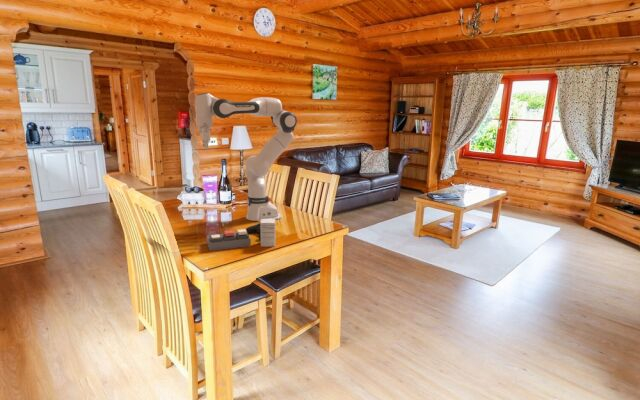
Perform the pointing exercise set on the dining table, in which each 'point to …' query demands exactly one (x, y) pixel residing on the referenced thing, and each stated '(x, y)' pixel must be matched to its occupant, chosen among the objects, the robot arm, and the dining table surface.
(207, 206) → the dining table surface
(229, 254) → the dining table surface
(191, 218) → the dining table surface
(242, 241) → the button box
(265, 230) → the supplement box
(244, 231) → the button
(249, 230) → the gaming controller
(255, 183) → the robot arm
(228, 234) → the red button
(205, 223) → the dining table surface
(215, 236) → the button
